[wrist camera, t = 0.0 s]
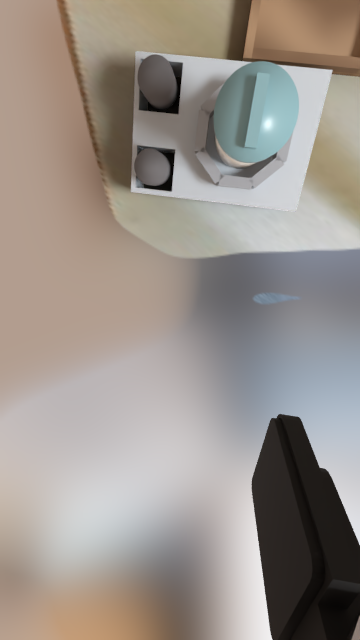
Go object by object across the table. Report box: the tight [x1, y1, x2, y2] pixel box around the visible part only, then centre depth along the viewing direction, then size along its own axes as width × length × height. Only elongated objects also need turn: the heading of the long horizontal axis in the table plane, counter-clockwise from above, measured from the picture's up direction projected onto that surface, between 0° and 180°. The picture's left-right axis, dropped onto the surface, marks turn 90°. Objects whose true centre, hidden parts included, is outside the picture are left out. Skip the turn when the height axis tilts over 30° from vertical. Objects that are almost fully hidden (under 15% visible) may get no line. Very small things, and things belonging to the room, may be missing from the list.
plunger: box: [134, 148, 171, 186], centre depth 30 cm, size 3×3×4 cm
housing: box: [131, 51, 333, 212], centre depth 30 cm, size 12×18×6 cm, turn 84°
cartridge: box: [214, 61, 299, 169], centre depth 24 cm, size 6×6×11 cm
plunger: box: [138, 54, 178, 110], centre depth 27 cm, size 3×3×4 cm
